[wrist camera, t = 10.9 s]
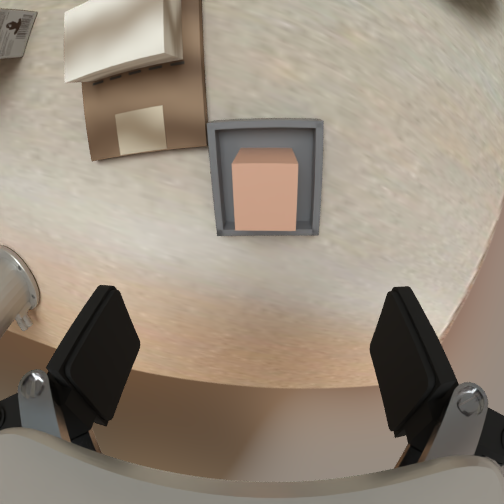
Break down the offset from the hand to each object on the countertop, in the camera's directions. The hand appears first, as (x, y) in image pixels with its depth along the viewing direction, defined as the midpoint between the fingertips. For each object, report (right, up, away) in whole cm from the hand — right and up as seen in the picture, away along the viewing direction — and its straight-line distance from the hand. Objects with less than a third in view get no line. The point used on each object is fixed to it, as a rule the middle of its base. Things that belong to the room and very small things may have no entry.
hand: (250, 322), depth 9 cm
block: (+1, +9, +15) cm, 18 cm away
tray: (+1, +9, +16) cm, 18 cm away
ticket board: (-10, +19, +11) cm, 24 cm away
